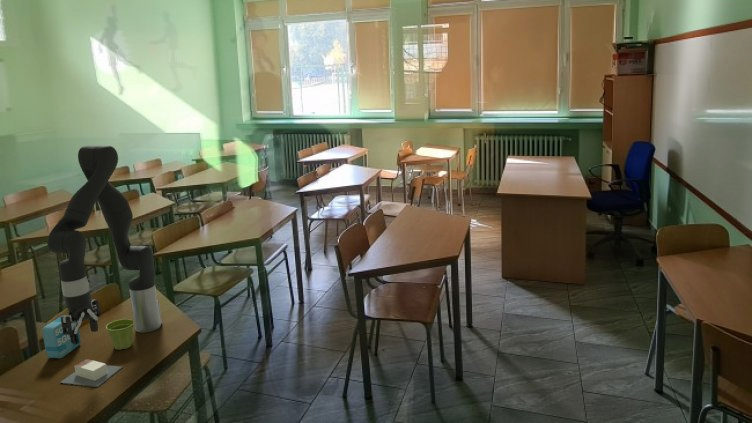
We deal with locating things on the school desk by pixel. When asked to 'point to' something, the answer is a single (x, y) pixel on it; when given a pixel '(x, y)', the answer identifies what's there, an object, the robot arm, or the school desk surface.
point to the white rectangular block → (91, 369)
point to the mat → (87, 382)
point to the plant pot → (121, 333)
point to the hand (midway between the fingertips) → (85, 337)
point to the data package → (57, 339)
